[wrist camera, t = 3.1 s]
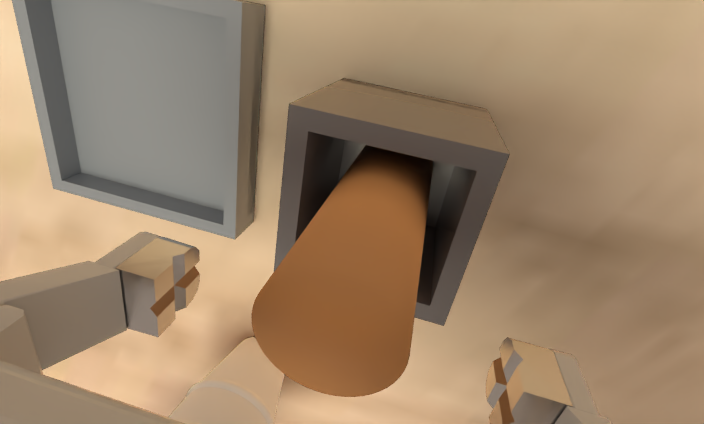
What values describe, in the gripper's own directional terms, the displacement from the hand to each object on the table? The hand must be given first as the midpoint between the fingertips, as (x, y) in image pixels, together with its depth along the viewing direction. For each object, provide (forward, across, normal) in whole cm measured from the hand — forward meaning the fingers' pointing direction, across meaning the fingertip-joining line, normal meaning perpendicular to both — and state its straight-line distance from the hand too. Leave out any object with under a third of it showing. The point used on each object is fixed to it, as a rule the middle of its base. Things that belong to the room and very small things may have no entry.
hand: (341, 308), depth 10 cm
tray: (+13, +15, 0) cm, 20 cm away
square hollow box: (+13, 0, 0) cm, 13 cm away
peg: (+12, 0, 0) cm, 12 cm away
